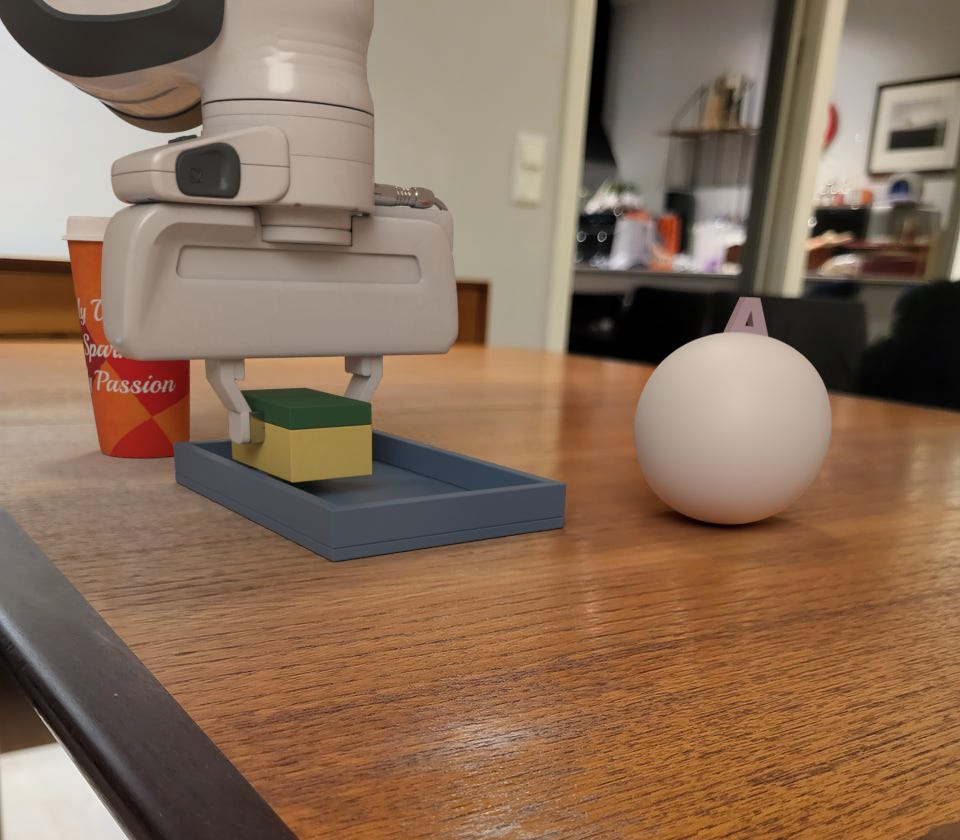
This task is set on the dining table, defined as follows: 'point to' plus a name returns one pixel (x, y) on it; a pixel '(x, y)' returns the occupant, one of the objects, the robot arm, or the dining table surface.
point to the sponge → (309, 435)
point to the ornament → (733, 424)
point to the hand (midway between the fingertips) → (298, 438)
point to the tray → (379, 498)
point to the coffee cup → (124, 366)
